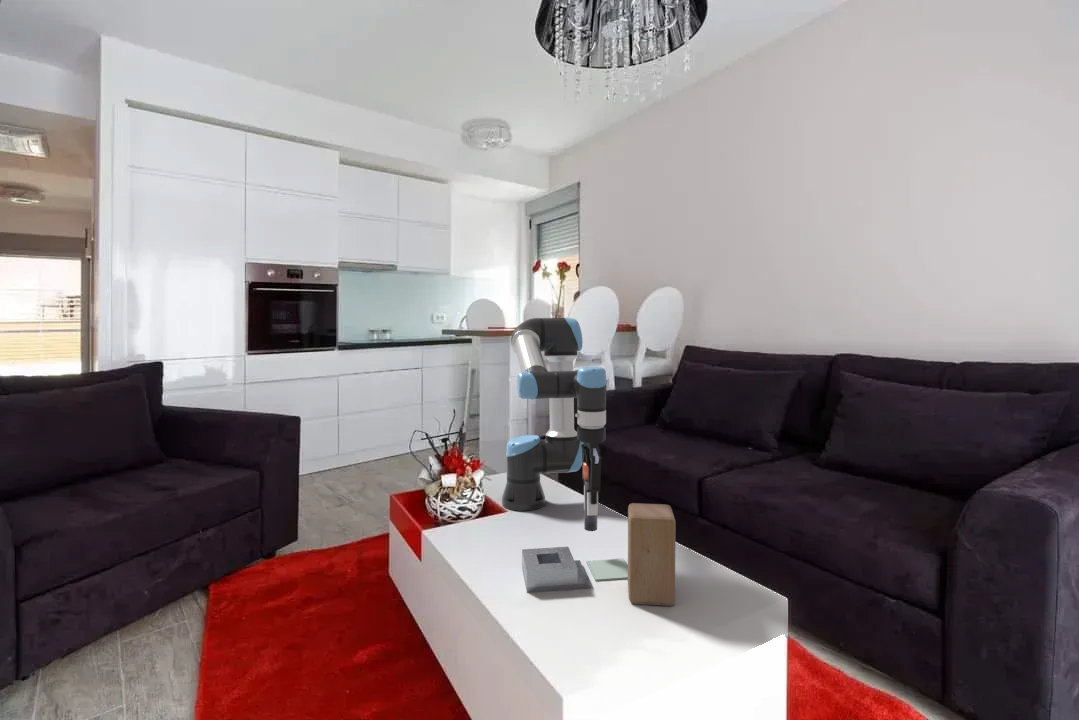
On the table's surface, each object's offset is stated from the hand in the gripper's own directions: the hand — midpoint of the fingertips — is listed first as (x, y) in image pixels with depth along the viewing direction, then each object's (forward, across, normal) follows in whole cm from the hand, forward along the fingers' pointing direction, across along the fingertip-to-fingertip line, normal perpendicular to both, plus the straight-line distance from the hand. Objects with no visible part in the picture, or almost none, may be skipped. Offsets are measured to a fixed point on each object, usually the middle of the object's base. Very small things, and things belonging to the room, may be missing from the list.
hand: (590, 511), depth 138 cm
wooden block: (+12, +22, +9) cm, 26 cm away
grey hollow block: (+12, +11, -12) cm, 20 cm away
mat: (+12, +9, +3) cm, 15 cm away
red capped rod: (+5, 0, 0) cm, 5 cm away
